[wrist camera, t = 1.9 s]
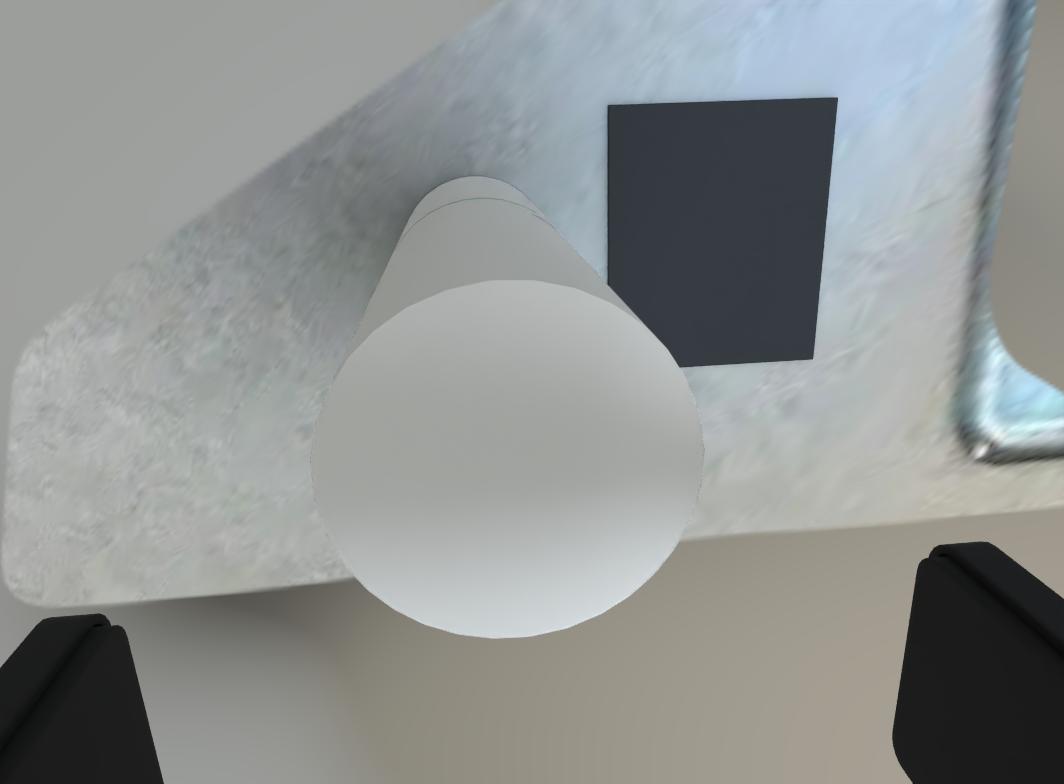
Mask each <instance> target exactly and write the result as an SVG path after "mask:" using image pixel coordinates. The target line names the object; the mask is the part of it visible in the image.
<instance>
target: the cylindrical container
mask: <svg viewBox="0 0 1064 784" xmlns="http://www.w3.org/2000/svg"><path fill="white" fill-rule="evenodd" d="M703 460H704V443H703V435H702V427H701V420H700V413H699V410H698V408H697V405H696V402H695V400H694V397H693V394H692V391H691V389H690V386H689V383H688V381H687V379H686V377H685V375H684V374H683V372H682V371H681V369H680V368H679V366H678V365H677V363H676V362H675V360H674V358H673V357H672V355H671V354H670V352H669V351H668V349H667V348H666V347H665V346H664V345H663V344H662V343H661V342H660V341H659V339H658V338H657V337H656V336H655V335H654V334H653V333H652V332H651V331H650V330H649V329H648V328H647V327H646V326H645V324H644V323H643V322H642V321H641V320H640V319H639V318H638V317H637V316H636V315H635V314H634V313H633V312H632V310H631V309H630V308H629V307H628V306H627V305H626V304H625V303H624V302H623V301H622V300H621V299H620V298H619V297H618V295H617V294H616V293H615V292H614V291H613V290H612V289H611V288H610V287H609V286H608V285H607V284H606V283H605V281H604V280H603V279H602V278H601V277H600V276H599V275H598V274H597V273H596V272H595V271H594V269H593V268H592V267H591V266H590V265H589V264H588V263H587V262H586V261H585V260H584V259H583V257H582V256H581V255H580V254H579V253H578V252H577V251H576V250H575V249H574V248H573V246H572V245H571V244H570V243H569V242H568V241H567V240H566V239H565V238H564V237H563V236H562V235H561V234H560V233H559V231H558V230H557V229H556V228H555V227H554V226H553V225H552V224H551V223H550V222H549V221H548V220H547V219H546V217H545V216H544V215H543V214H542V213H541V212H540V211H539V210H538V209H537V208H536V207H535V205H534V204H533V203H532V202H531V201H530V200H529V199H528V198H527V197H526V196H525V195H524V194H523V193H522V192H520V191H519V190H517V189H516V188H514V187H513V186H511V185H509V184H507V183H505V182H502V181H500V180H497V179H493V178H488V177H484V176H467V177H463V178H458V179H453V180H451V181H448V182H446V183H444V184H442V185H440V186H438V187H436V188H435V189H434V190H432V191H431V192H430V193H428V194H427V195H426V196H425V197H424V198H423V199H422V200H421V201H420V202H419V204H418V205H417V206H416V208H415V209H414V211H413V213H412V214H411V216H410V218H409V220H408V222H407V224H406V226H405V229H404V231H403V233H402V235H401V237H400V239H399V241H398V243H397V245H396V248H395V250H394V252H393V254H392V256H391V258H390V260H389V262H388V264H387V266H386V269H385V271H384V273H383V275H382V277H381V279H380V281H379V283H378V285H377V287H376V290H375V292H374V294H373V296H372V298H371V300H370V302H369V304H368V306H367V309H366V311H365V313H364V315H363V317H362V319H361V321H360V323H359V325H358V328H357V330H356V332H355V334H354V336H353V338H352V340H351V342H350V344H349V347H348V349H347V351H346V353H345V355H344V357H343V359H342V361H341V363H340V366H339V368H338V370H337V372H336V374H335V376H334V378H333V380H332V382H331V384H330V387H329V389H328V391H327V394H326V397H325V399H324V402H323V405H322V407H321V410H320V413H319V416H318V418H317V421H316V424H315V430H314V437H313V444H312V452H311V459H310V465H311V476H312V486H313V496H314V502H315V504H316V507H317V510H318V513H319V516H320V519H321V522H322V525H323V528H324V531H325V534H326V536H327V537H328V539H329V541H330V542H331V544H332V546H333V547H334V549H335V551H336V552H337V554H338V556H339V557H340V559H341V560H342V562H343V564H344V565H345V566H346V567H347V569H348V570H349V571H350V572H351V573H352V574H353V575H354V576H355V577H356V578H357V579H358V580H359V581H360V582H361V583H362V585H363V586H365V588H366V589H367V590H368V591H369V592H371V593H373V594H374V595H375V596H376V597H378V598H379V599H381V600H382V601H383V602H385V603H386V604H387V605H389V606H390V607H391V608H393V609H394V610H396V611H398V612H400V613H402V614H404V615H406V616H408V617H410V618H412V619H414V620H416V621H418V622H420V623H422V624H425V625H428V626H431V627H435V628H438V629H442V630H445V631H448V632H452V633H455V634H459V635H468V636H477V637H485V638H493V639H495V638H513V637H531V636H535V635H540V634H544V633H549V632H553V631H557V630H562V629H566V628H569V627H571V626H574V625H576V624H579V623H581V622H583V621H586V620H588V619H591V618H593V617H595V616H598V615H600V614H602V613H603V612H605V611H607V610H608V609H610V608H611V607H613V606H615V605H616V604H618V603H619V602H621V601H623V600H624V599H626V598H627V597H629V596H630V595H631V594H632V593H633V592H635V591H636V590H637V589H638V588H639V587H640V586H641V585H643V584H644V583H645V582H646V581H647V580H648V579H649V578H650V577H652V576H653V575H654V574H655V573H656V571H657V570H658V569H659V568H660V566H661V565H662V564H663V563H664V561H665V560H666V559H667V558H668V556H669V555H670V554H671V553H672V551H673V550H674V549H675V547H676V545H677V543H678V542H679V540H680V538H681V536H682V534H683V532H684V531H685V529H686V527H687V525H688V523H689V521H690V520H691V517H692V513H693V510H694V507H695V504H696V501H697V497H698V494H699V491H700V488H701V482H702V471H703Z"/></svg>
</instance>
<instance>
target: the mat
mask: <svg viewBox="0 0 1064 784" xmlns="http://www.w3.org/2000/svg"><path fill="white" fill-rule="evenodd" d="M837 102H838V98H808V99H779V100H749V101H720V102H690V103H661V104H631V105H609V106H608V286H609V287H610V288H611V289H612V290H613V291H614V292H615V293H616V294H617V295H618V297H619V298H620V299H621V300H622V301H623V302H624V303H625V304H626V305H627V306H628V307H629V308H630V309H631V310H632V312H633V313H634V314H635V315H636V316H637V317H638V318H639V319H640V320H641V321H642V322H643V323H644V324H645V326H646V327H647V328H648V329H649V330H650V331H651V332H652V333H653V334H654V335H655V336H656V337H657V338H658V339H659V341H660V342H661V343H662V344H663V345H664V346H665V347H666V348H667V349H668V351H669V352H670V354H671V355H672V357H673V358H674V360H675V362H676V363H677V365H678V366H679V367H694V366H710V365H727V364H743V363H759V362H776V361H792V360H809V359H813V354H814V344H815V333H816V323H817V312H818V302H819V291H820V281H821V270H822V260H823V249H824V239H825V228H826V218H827V207H828V197H829V186H830V176H831V165H832V155H833V144H834V134H835V123H836V113H837Z"/></svg>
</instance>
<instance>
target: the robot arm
mask: <svg viewBox="0 0 1064 784" xmlns="http://www.w3.org/2000/svg"><path fill="white" fill-rule="evenodd" d="M910 614H911V615H910V620H909V627H908V633H907V640H906V647H905V653H904V660H903V666H902V673H901V680H900V686H899V692H898V699H897V706H896V712H895V719H894V726H893V734H892V735H893V736H892V740H893V747H894V750H895V754H896V756H897V759H898V761H899V763H900V765H901V767H902V768H903V770H904V771H905V773H906V774H907V776H908V777H909V778H910V780H911V781H912V783H913V784H1064V599H1063V598H1062V597H1061V596H1059V595H1058V594H1057V593H1055V592H1054V591H1053V590H1052V589H1050V588H1049V587H1048V586H1046V585H1045V584H1044V583H1042V582H1041V581H1040V580H1039V579H1037V578H1036V577H1035V576H1033V575H1032V574H1031V573H1029V572H1028V571H1027V570H1026V569H1024V568H1023V567H1022V566H1021V565H1019V564H1018V563H1017V562H1015V561H1014V560H1013V559H1011V558H1010V557H1009V556H1007V555H1006V554H1005V553H1004V552H1002V551H1001V550H1000V549H999V548H997V547H996V546H994V545H992V544H991V543H989V542H969V543H957V544H945V545H938V546H936V547H935V548H934V549H933V550H932V551H931V553H930V555H929V558H925V559H923V560H922V561H921V562H920V563H919V565H918V569H917V574H916V581H915V587H914V594H913V601H912V607H911V613H910ZM0 784H164V782H163V778H162V775H161V770H160V766H159V762H158V758H157V754H156V750H155V746H154V742H153V738H152V734H151V730H150V726H149V722H148V718H147V714H146V710H145V706H144V702H143V698H142V694H141V690H140V686H139V682H138V678H137V674H136V670H135V666H134V662H133V658H132V654H131V650H130V645H129V641H128V637H127V635H126V632H125V630H124V629H123V628H122V627H121V626H119V625H114V626H111V624H110V621H109V620H108V619H107V618H106V616H105V615H102V614H88V615H76V616H63V617H51V618H47V619H43V620H42V621H41V622H40V623H38V624H37V625H36V626H35V628H34V629H33V630H32V631H31V632H30V634H29V635H28V636H27V637H26V638H25V639H24V641H23V642H22V643H21V644H20V646H18V648H17V649H16V650H15V651H14V652H13V654H12V655H11V656H10V657H9V658H8V659H7V661H6V662H5V663H4V664H3V665H2V667H1V668H0Z"/></svg>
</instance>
